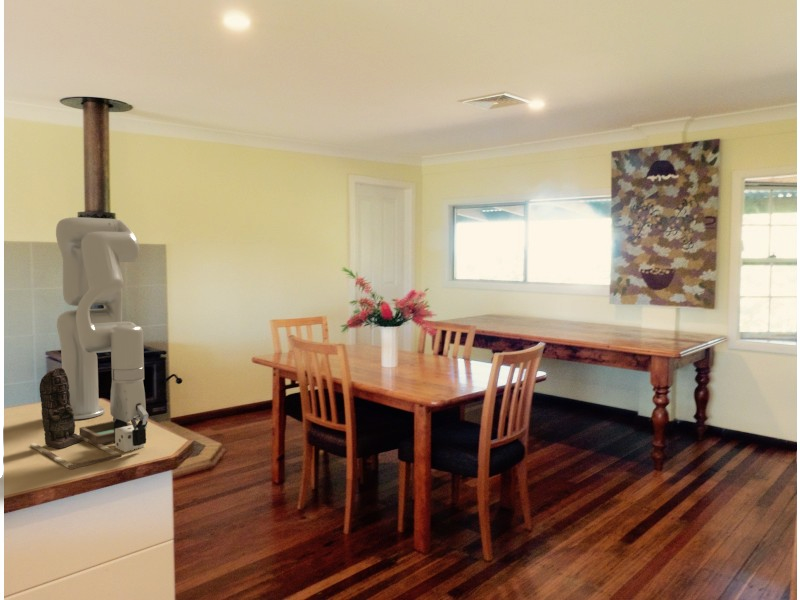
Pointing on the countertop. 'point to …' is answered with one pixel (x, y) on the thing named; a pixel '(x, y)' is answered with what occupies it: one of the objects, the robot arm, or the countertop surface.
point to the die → (125, 439)
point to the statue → (57, 410)
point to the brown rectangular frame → (70, 466)
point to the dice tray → (100, 432)
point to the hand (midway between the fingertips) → (129, 440)
